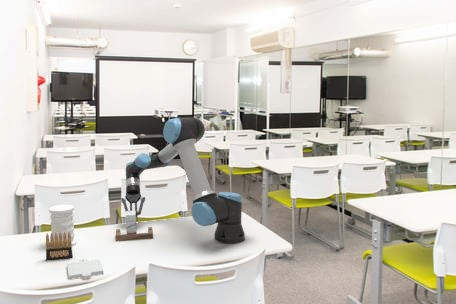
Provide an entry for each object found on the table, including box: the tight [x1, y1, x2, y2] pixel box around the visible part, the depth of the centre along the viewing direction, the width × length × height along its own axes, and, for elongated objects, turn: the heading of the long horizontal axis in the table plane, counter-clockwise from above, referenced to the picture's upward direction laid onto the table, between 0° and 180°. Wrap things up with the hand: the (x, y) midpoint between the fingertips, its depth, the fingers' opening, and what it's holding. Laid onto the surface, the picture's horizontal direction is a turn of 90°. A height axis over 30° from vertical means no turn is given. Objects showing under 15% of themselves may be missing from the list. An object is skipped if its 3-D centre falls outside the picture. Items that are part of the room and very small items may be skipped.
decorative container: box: [48, 204, 77, 247], centre depth 203 cm, size 12×12×18 cm
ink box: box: [125, 210, 138, 234], centre depth 217 cm, size 9×5×12 cm, turn 11°
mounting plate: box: [66, 258, 104, 281], centre depth 175 cm, size 18×13×2 cm
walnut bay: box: [114, 226, 154, 242], centre depth 216 cm, size 11×18×2 cm, turn 103°
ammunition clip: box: [45, 232, 74, 262], centre depth 187 cm, size 11×2×12 cm, turn 106°
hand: (133, 226), depth 223 cm, fingers closed
